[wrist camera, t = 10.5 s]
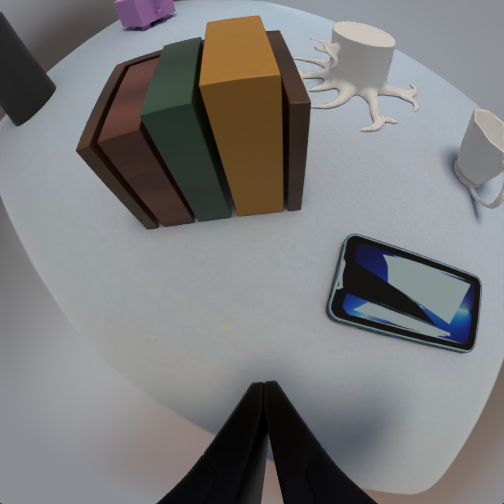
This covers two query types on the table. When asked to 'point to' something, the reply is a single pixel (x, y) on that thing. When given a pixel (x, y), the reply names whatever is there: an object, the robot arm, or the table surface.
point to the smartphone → (405, 295)
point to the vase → (20, 77)
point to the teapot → (143, 12)
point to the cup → (481, 153)
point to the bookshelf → (180, 136)
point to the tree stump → (358, 68)
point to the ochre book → (245, 111)
